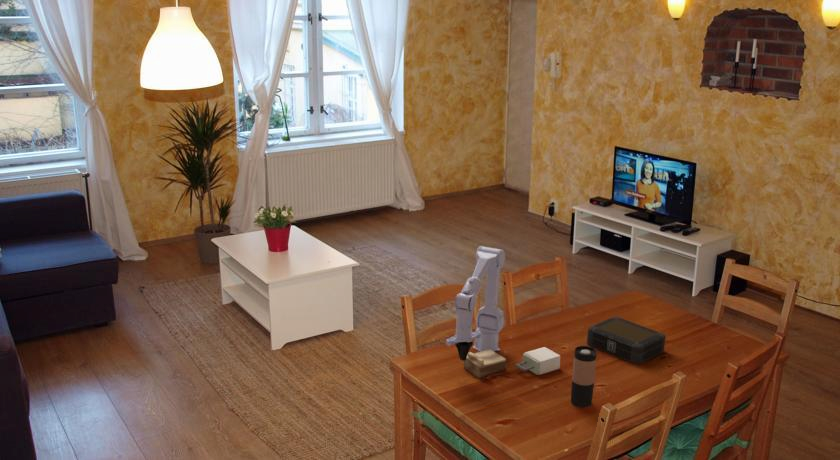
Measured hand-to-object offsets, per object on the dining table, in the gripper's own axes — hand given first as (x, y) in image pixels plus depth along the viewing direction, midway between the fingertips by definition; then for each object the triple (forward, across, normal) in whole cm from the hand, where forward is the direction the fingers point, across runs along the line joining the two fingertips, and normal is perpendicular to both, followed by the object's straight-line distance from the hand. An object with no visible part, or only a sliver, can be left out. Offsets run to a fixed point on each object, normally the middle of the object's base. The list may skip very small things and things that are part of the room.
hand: (462, 359), depth 300 cm
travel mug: (+8, +25, -37) cm, 45 cm away
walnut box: (+7, +11, 0) cm, 13 cm away
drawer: (+7, +26, -10) cm, 29 cm away
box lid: (+3, +11, 0) cm, 11 cm away
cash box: (+8, +72, -13) cm, 73 cm away
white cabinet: (+7, +30, -10) cm, 32 cm away
